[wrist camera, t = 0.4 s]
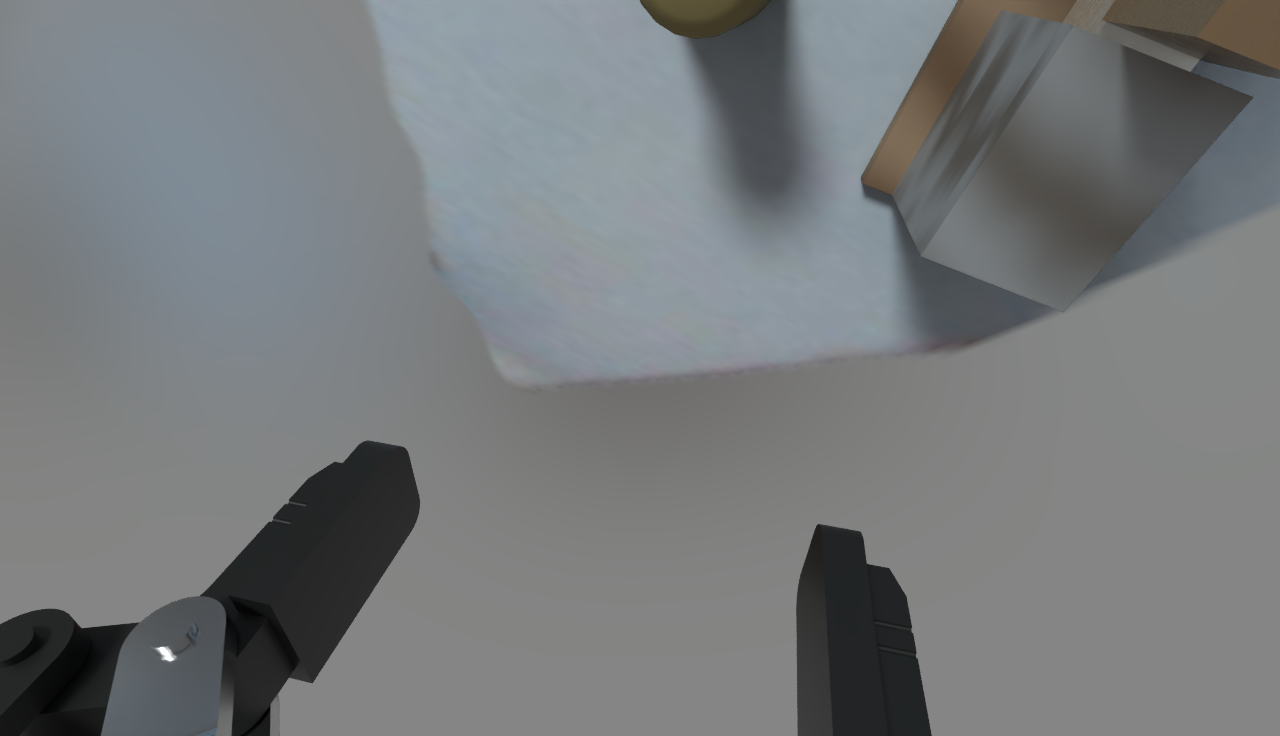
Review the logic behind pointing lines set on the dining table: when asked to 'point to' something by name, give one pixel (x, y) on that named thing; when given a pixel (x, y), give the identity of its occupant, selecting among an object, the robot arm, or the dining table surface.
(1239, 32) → the two-tone wooden block
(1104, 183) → the block assembly on base
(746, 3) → the cork
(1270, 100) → the dining table surface
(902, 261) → the dining table surface
